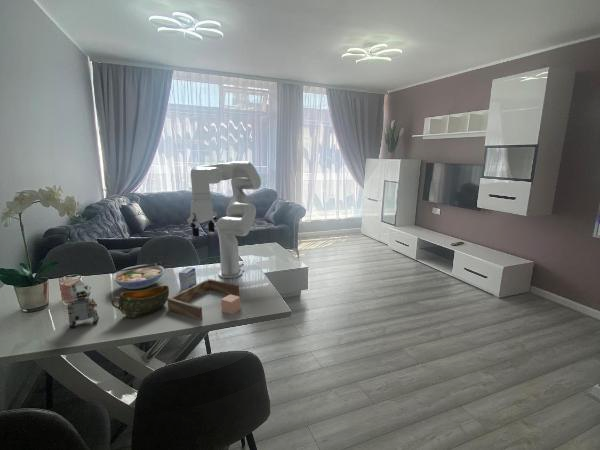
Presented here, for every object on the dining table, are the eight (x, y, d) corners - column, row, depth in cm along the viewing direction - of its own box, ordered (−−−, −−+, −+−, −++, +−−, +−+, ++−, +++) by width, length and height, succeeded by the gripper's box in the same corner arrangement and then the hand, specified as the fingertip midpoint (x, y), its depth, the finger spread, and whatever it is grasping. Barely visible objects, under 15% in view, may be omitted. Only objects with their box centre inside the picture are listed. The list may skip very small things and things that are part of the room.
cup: (120, 307, 136) (117, 285, 134) (170, 301, 142) (168, 280, 139) (112, 323, 124) (109, 299, 122) (168, 315, 130) (166, 293, 127)
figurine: (101, 312, 132) (96, 278, 128) (96, 326, 121) (90, 290, 118) (75, 317, 128) (69, 282, 125) (67, 331, 118) (60, 294, 115)
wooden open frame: (209, 288, 155) (208, 278, 154) (239, 295, 147) (238, 285, 146) (168, 309, 134) (167, 298, 133) (200, 320, 126) (199, 308, 125)
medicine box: (188, 290, 153) (186, 273, 151) (179, 289, 154) (178, 272, 152) (196, 283, 161) (195, 267, 159) (188, 282, 162) (187, 266, 160)
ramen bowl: (111, 301, 142) (109, 284, 140) (111, 283, 161) (109, 268, 159) (171, 289, 154) (169, 273, 152) (164, 274, 173) (162, 259, 171)
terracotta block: (230, 306, 138) (229, 294, 136) (240, 308, 135) (240, 296, 134) (221, 311, 133) (221, 299, 132) (232, 314, 130) (231, 302, 129)
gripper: (208, 193, 150) (211, 229, 154) (179, 198, 135) (183, 237, 139) (221, 194, 147) (223, 230, 151) (192, 199, 132) (195, 239, 136)
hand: (204, 234), depth 145 cm, fingers open, 9 cm apart
